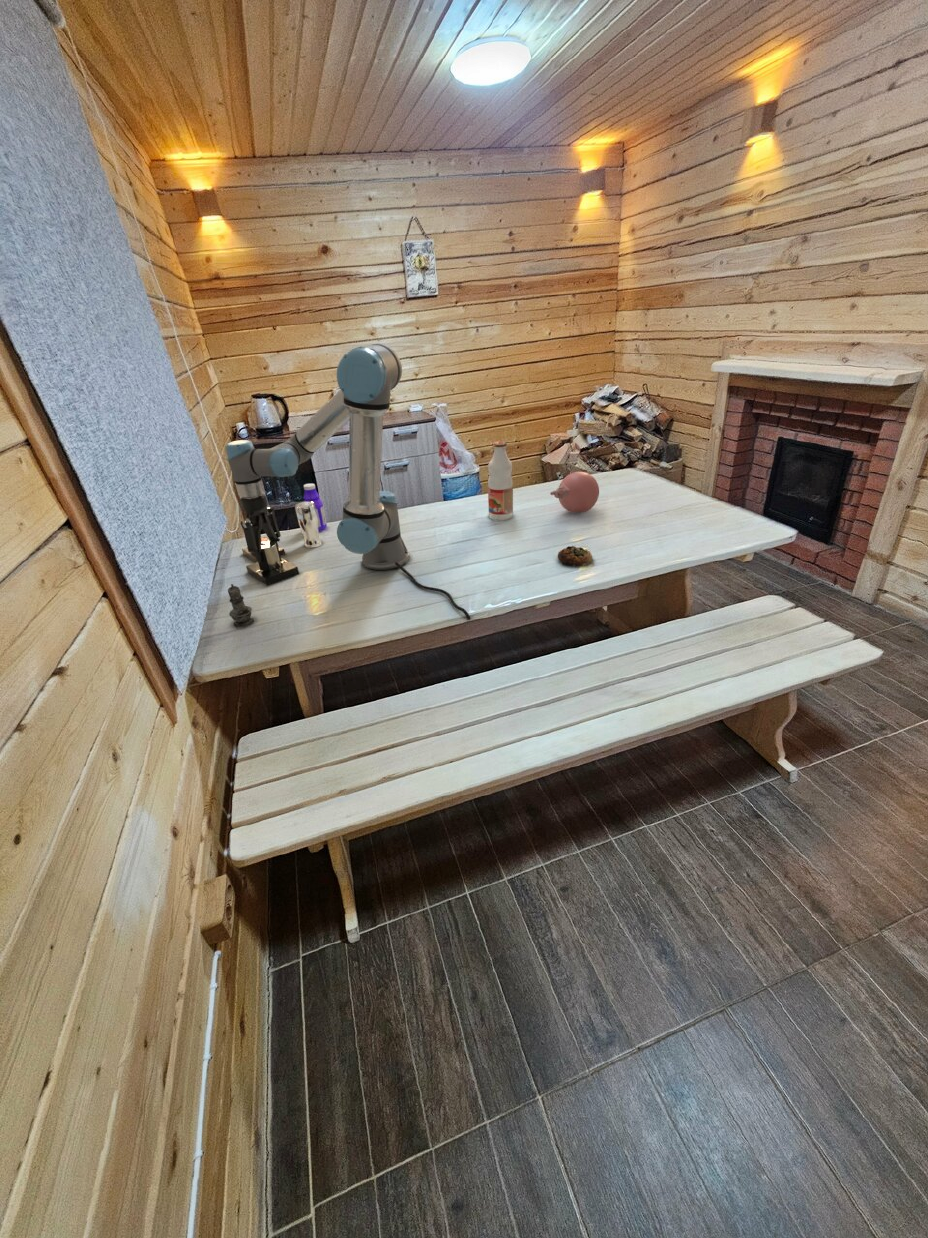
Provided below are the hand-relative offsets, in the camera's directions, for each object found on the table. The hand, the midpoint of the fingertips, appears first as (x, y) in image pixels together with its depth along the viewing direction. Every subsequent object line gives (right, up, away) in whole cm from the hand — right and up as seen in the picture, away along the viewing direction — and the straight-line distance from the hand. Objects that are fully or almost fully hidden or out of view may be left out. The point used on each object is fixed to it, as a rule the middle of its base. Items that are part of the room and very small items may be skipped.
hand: (271, 565), depth 167 cm
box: (-8, +5, +15) cm, 18 cm away
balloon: (+104, +24, +35) cm, 112 cm away
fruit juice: (+77, +22, +35) cm, 87 cm away
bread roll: (+98, +1, -1) cm, 98 cm away
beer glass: (+8, +9, +21) cm, 24 cm away
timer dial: (0, 0, 0) cm, 0 cm away
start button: (-8, +8, +13) cm, 18 cm away
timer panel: (0, -3, +2) cm, 3 cm away
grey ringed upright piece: (+2, -19, -24) cm, 31 cm away
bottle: (+6, +17, +33) cm, 38 cm away
